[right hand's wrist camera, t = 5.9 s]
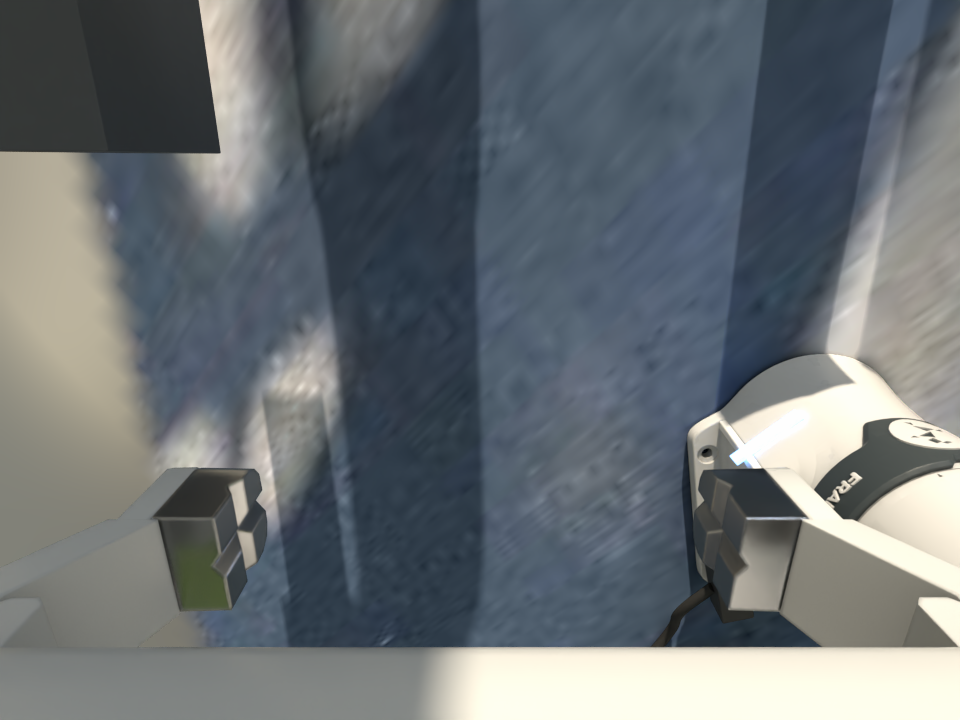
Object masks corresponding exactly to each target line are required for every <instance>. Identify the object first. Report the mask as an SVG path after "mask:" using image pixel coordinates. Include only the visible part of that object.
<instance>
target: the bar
mask: <svg viewBox="0 0 960 720" xmlns="http://www.w3.org/2000/svg"><path fill="white" fill-rule="evenodd" d="M0 151H6V152H84V153H221V152H220V145H219V138H218V131H217V125H216V118H215V111H214V104H213V97H212V90H211V83H210V76H209V69H208V63H207V56H206V49H205V42H204V35H203V28H202V21H201V14H200V8H199V1H198V0H0Z"/></svg>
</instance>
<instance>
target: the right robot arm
mask: <svg viewBox="0 0 960 720" xmlns="http://www.w3.org/2000/svg"><path fill="white" fill-rule="evenodd" d="M687 445H688V458H689V472H690V485H691V499H692V512H693V537H694V543H695V553H696V565H697V570H698V572H699V574H700V575H701V576H702V578H703V579H704V580H706V581H707V582H708V584H707V585H706V586H704V587H703V588H702V589H700V590H699V591H697V592H696V593H695V594H693V595H692V596H690V597H689V598H688V599H687V600H685V601H684V602H683V603H682V604H681V605H680V606H679V607H678V608H677V609H676V610H675V611H674V612H673V614H672V616H671V620H670V622H669V624H668V626H667V627H666V629H665V630H664V632H663V633H662V634H661V635H660V637H659V638H658V639H657V640H656V642H655V643H654V644H653V645H652V646H651V647H139V646H140V645H141V644H143V643H144V642H145V641H146V640H148V639H149V638H150V637H151V636H153V635H154V634H155V633H157V632H158V631H159V630H160V629H162V628H163V627H164V626H166V625H167V624H168V623H169V622H171V621H172V620H173V619H175V618H176V617H177V616H178V615H180V611H215V610H232V608H233V606H234V605H235V603H236V601H237V599H238V597H239V596H240V594H241V592H242V590H243V588H244V587H245V585H246V583H247V575H246V570H247V569H249V568H250V567H252V566H253V565H255V564H256V563H258V561H259V559H260V557H261V555H262V553H263V551H264V546H265V542H266V538H267V517H266V511H265V510H264V509H263V508H262V507H261V505H260V504H259V503H258V502H257V501H256V499H257V497H258V496H259V494H260V493H261V491H262V486H261V481H260V476H259V473H258V472H257V471H256V470H255V469H235V468H198V467H192V468H171V469H167V470H166V471H165V472H164V473H163V474H162V475H161V476H160V477H159V478H158V479H157V480H156V481H155V482H154V483H153V484H152V485H151V486H150V487H149V488H148V489H147V490H146V491H145V492H144V493H143V494H142V495H141V496H140V497H139V498H138V499H137V500H136V501H135V502H134V503H133V504H132V505H131V506H130V507H129V508H128V509H127V510H126V511H125V512H124V513H123V514H122V515H121V516H120V517H119V518H118V519H108V520H105V521H103V522H101V523H99V524H96V525H94V526H92V527H90V528H87V529H85V530H83V531H81V532H78V533H76V534H74V535H72V536H69V537H67V538H65V539H63V540H61V541H58V542H56V543H54V544H51V545H49V546H47V547H45V548H42V549H40V550H38V551H36V552H33V553H31V554H29V555H27V556H24V557H22V558H20V559H18V560H15V561H13V562H11V563H9V564H6V565H4V566H2V567H0V720H960V438H959V437H957V436H955V435H953V434H952V433H950V432H948V431H945V430H943V429H941V428H939V427H937V426H935V425H933V424H931V423H928V422H926V421H924V420H923V419H922V418H921V417H919V416H918V415H917V414H916V413H914V412H913V411H912V410H911V409H910V408H909V407H908V406H906V405H905V404H904V403H903V402H902V401H901V400H900V399H899V398H898V396H897V395H896V394H895V393H894V392H893V391H892V390H891V388H890V387H889V386H888V384H887V383H886V382H885V380H884V379H883V378H882V377H881V376H880V375H879V374H878V373H877V372H876V371H875V370H873V369H872V368H871V367H869V366H868V365H866V364H864V363H862V362H860V361H858V360H855V359H853V358H849V357H846V356H841V355H834V354H814V355H806V356H801V357H797V358H793V359H790V360H787V361H784V362H781V363H779V364H777V365H775V366H773V367H771V368H769V369H767V370H765V371H764V372H762V373H760V374H759V375H758V376H756V377H755V378H753V379H752V380H751V381H750V382H748V383H747V384H746V385H745V386H744V387H743V388H742V389H741V390H740V391H739V392H738V393H737V394H736V395H735V396H734V398H733V399H732V400H731V401H730V402H729V403H728V404H727V405H726V406H725V407H724V408H723V409H721V410H720V411H718V412H717V413H715V414H713V415H711V416H709V417H707V418H705V419H703V420H702V421H700V422H699V423H697V424H696V425H694V426H693V427H692V428H691V429H690V431H689V433H688V436H687ZM707 448H708V449H709V450H708V452H706V453H704V454H702V451H703V450H704V449H707ZM708 597H710V598H711V601H712V603H713V605H714V607H715V609H716V611H717V613H718V615H719V617H720V619H721V621H722V623H728V622H733V621H738V620H743V619H748V618H753V617H754V615H753V611H780V614H781V615H782V616H783V617H784V618H786V619H787V620H788V621H789V622H791V623H792V624H793V625H795V626H796V627H797V628H798V629H800V630H801V631H802V632H803V633H805V634H806V635H807V636H809V637H810V638H811V639H812V640H814V641H815V642H816V643H817V644H819V645H820V646H821V647H665V645H666V644H667V643H668V642H669V640H670V639H671V638H672V637H673V635H674V634H675V632H676V631H677V629H678V627H679V625H680V621H681V619H682V618H683V617H684V615H685V614H687V613H688V612H689V611H690V610H691V609H693V608H694V607H695V606H697V605H698V604H700V603H701V602H703V601H704V600H706V599H707V598H708Z"/></svg>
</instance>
